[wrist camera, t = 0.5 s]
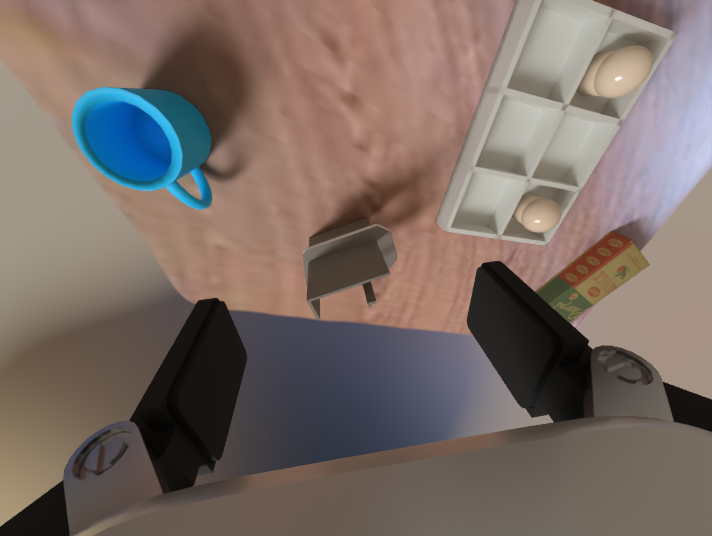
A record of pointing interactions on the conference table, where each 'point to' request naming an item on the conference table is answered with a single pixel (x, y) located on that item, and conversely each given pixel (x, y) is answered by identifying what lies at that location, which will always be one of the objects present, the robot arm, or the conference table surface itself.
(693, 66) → the conference table surface
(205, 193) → the mug
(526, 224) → the egg in carton
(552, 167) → the egg tray
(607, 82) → the egg in carton
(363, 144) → the conference table surface
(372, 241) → the toy chair
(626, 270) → the carton
